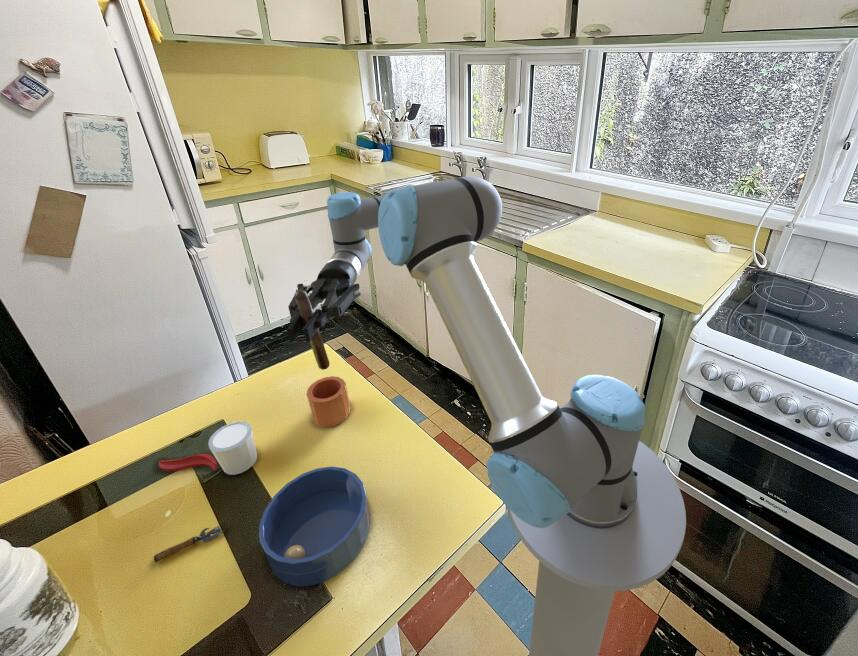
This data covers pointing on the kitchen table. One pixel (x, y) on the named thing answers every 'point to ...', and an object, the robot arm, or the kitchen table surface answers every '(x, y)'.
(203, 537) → the can opener
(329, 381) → the holder
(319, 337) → the stirring stick
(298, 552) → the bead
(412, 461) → the kitchen table surface
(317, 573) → the bowl
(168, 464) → the cayenne pepper
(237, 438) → the white cup
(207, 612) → the kitchen table surface
